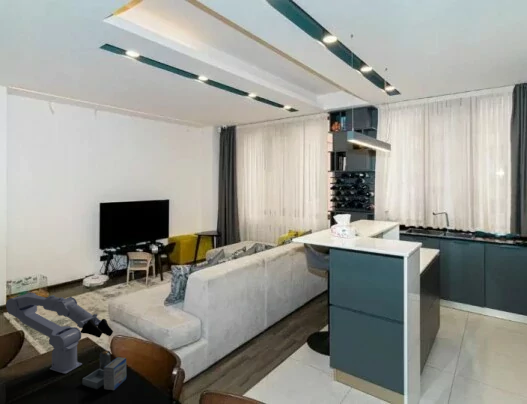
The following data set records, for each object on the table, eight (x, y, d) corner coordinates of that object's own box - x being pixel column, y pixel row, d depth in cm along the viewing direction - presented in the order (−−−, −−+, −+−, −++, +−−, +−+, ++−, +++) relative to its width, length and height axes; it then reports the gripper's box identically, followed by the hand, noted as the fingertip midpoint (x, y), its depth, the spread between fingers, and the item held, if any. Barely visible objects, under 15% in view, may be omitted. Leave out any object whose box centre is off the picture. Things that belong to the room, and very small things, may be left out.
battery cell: (97, 371, 135) (97, 353, 135) (105, 366, 139) (105, 348, 138) (104, 373, 133) (104, 355, 133) (112, 368, 137) (112, 350, 137)
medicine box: (113, 391, 122) (113, 368, 121) (103, 389, 123) (103, 367, 122) (126, 379, 129) (126, 357, 129) (116, 377, 130) (116, 356, 130)
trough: (82, 384, 125) (82, 378, 125) (99, 374, 132) (99, 368, 132) (97, 389, 122) (96, 383, 122) (113, 378, 129) (113, 372, 129)
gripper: (76, 308, 128) (101, 325, 125) (97, 308, 142) (121, 324, 139) (65, 324, 127) (90, 343, 123) (88, 323, 140) (111, 340, 137)
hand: (106, 334), depth 131 cm, fingers open, 7 cm apart
